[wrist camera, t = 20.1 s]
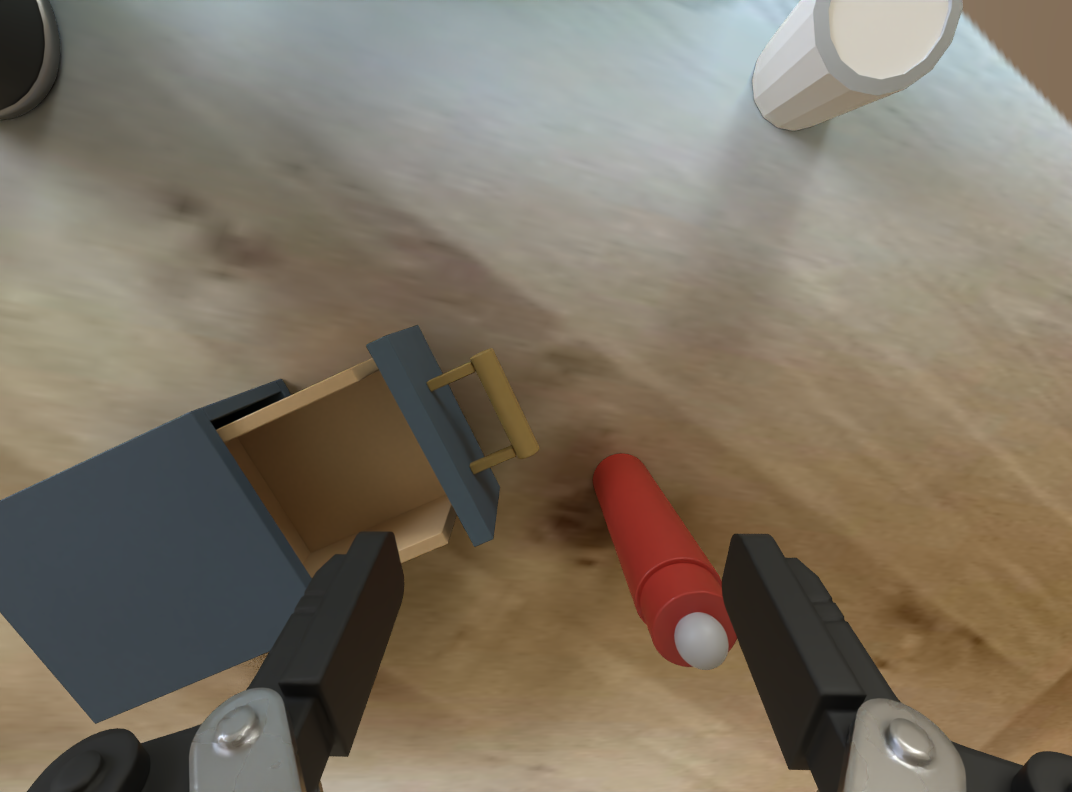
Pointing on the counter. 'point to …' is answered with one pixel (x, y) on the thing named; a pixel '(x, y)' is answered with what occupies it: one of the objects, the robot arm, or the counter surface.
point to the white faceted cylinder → (848, 56)
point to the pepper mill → (663, 567)
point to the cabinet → (149, 563)
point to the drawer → (379, 453)
